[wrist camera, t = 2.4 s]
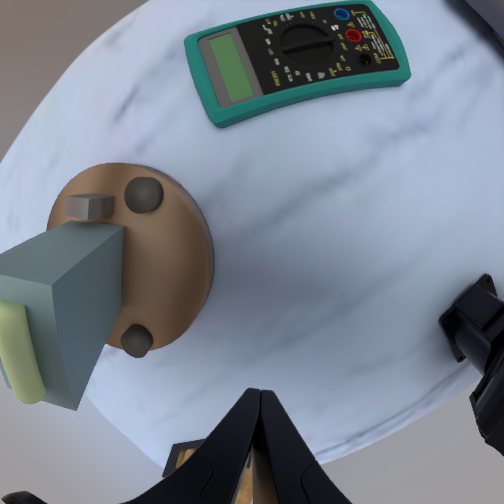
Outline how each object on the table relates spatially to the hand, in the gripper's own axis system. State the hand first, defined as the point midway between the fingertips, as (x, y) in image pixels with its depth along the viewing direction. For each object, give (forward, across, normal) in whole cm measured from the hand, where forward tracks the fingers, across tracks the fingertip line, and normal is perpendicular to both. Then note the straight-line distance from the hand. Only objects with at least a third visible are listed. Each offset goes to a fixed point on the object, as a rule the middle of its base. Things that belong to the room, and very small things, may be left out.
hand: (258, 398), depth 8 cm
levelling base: (+12, +12, 0) cm, 17 cm away
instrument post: (+10, +12, 0) cm, 15 cm away
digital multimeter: (+13, 0, -16) cm, 21 cm away
